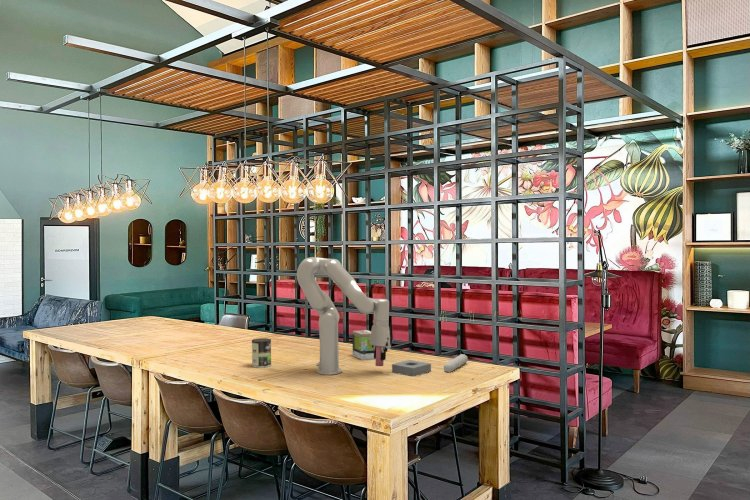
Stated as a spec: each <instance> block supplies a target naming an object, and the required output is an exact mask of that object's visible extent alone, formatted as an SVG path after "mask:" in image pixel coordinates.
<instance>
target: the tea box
mask: <svg viewBox="0 0 750 500" xmlns="http://www.w3.org/2000/svg"><path fill="white" fill-rule="evenodd" d="M351 335H352V357H355V358H357V359H359V360H361V361H366V360H367V361H368V360H369V361H370V360H375V359H374V351H373V348H372V346H371V345H370V336H371V330H368V329H364V330H361V329H360V330H353V331H352V333H351Z"/></svg>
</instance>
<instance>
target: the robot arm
mask: <svg viewBox="0 0 750 500" xmlns="http://www.w3.org/2000/svg"><path fill="white" fill-rule="evenodd" d="M315 274H316V275H318V274H319V275H326V276H328V277H329V278H330V279H331V281H332V282H334V284H335V285H336V286H337V287H338V288H339V289H340V290H341V291H342V293H343V294H344V295H345V296H346V297H347V298H348V299H349V301H350V302H351V303H352V305H354V306H355V308H356V309H357V310H358V311H359V312H360V313H362V314H363V315H369V314H371V313H373V319H372V323H373V325H372V326H371V330H370V331H371V336H370V345H371V346H372V348H373V351H374V359H373V360H376V346H380V347H381V349H382V352H381V360H384V361H385V360H386V358H387V357H386V355H387V352H388V350H390V349H392V346H391V334H390V333H391V332H390V326H389V320H390V319H389V317H390V316H389V315H390V301H389V299H386V298H372V297H369V296H367V295H366V294H365V293H364V292H363V291H362V289H361V288H360V287H359V286H358V283H357V281H356V280H355V278H354V277H353V276H352V275H351V274H350V273H349V272H348V271H347V270H346V269H345V268H344V267H343V265H342V263H341V262H340V260H338V259H337V258H336V259H335V258H325V257H315V256H311V257H307V258H304V259H303V260H302V261H301V262H300V264H299V265H298V267H297V270H296V278H297V283H298V285H299V286H300V288H301V290H302V292H303V294H304V296H305V298H306V300H307V302H308V303H309V305H310V307H311V308H312V309H313V310H315V311H316V312H317V314H318V316H319V319H318V332H319V333H318V334H319V361H318V363H316V367H318V369H317V370H316V373H317V374H319V375H323V376H324V375H325V376H329V375H330V376H331V375H332V376H333V375H338V374H341V373H343V370H342V368H340V365H339V364H340V363H339V360H340V359H339V358H340V357H339V355H340V353H339V350H340V349H339V321H340V313H339V311H338V309H337V307H336V306H335V304H334V302H333V301H332V299H331V297H330V296H329V294H328V293H327V292H325V291H324V290H322V288H321V286H320V285H319V283H318V281H317V280H316V278H315V276H314V275H315Z"/></svg>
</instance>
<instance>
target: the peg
mask: <svg viewBox="0 0 750 500" xmlns="http://www.w3.org/2000/svg"><path fill="white" fill-rule="evenodd" d="M381 352H382V349H381V347H380V346H376V359H375V366H376V367H384V361H385V360H381Z"/></svg>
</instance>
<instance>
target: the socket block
mask: <svg viewBox="0 0 750 500" xmlns="http://www.w3.org/2000/svg"><path fill="white" fill-rule="evenodd" d="M391 372H392V373H395V374H399V375H405V376H409V377H410V376H411V377H415V376H419V375H424V374H426V373H430V372H432V363H430V362H423V361H419V360H411V359H408V360H404V361H400V362H395V363H392V364H391Z"/></svg>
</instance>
